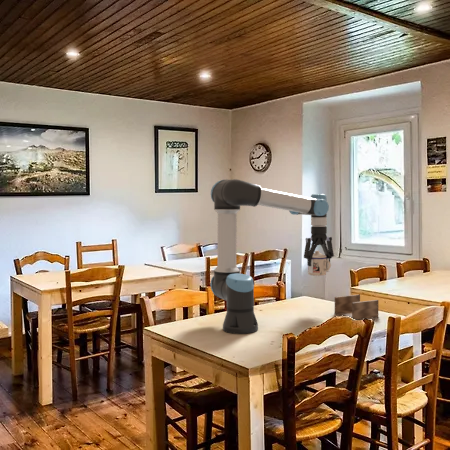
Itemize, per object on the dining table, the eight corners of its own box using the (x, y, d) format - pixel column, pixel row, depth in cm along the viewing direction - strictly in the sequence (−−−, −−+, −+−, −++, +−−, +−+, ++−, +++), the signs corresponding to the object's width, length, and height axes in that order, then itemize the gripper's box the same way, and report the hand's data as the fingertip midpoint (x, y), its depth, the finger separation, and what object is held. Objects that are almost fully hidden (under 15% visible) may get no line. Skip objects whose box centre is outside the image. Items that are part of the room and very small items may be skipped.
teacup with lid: (304, 274, 264) (304, 251, 263) (314, 272, 270) (314, 249, 269) (325, 277, 255) (325, 252, 255) (335, 274, 262) (335, 251, 261)
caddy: (353, 320, 245) (353, 303, 244) (334, 313, 259) (334, 297, 258) (378, 317, 250) (378, 300, 250) (358, 310, 264) (358, 294, 263)
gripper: (332, 224, 269) (332, 269, 270) (295, 226, 260) (296, 272, 262) (341, 225, 262) (341, 271, 263) (304, 227, 253) (304, 274, 255)
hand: (318, 272), depth 263 cm, fingers closed on teacup with lid, 8 cm apart
